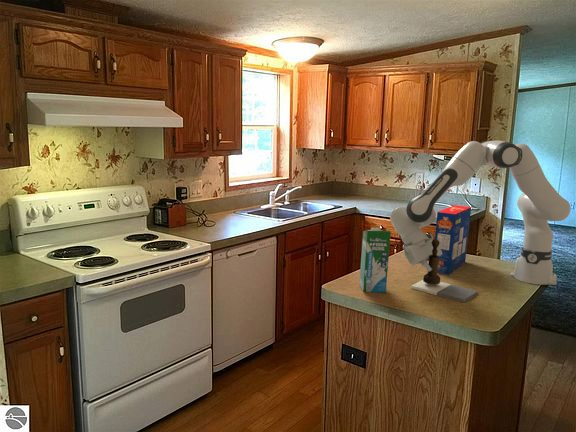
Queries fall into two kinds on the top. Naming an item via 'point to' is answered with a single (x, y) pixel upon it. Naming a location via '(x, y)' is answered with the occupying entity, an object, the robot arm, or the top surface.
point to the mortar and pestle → (433, 265)
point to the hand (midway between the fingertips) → (434, 269)
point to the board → (446, 290)
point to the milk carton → (374, 260)
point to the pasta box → (452, 237)
